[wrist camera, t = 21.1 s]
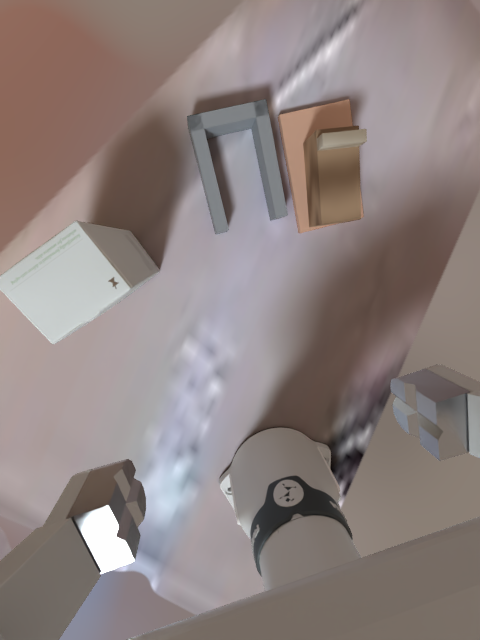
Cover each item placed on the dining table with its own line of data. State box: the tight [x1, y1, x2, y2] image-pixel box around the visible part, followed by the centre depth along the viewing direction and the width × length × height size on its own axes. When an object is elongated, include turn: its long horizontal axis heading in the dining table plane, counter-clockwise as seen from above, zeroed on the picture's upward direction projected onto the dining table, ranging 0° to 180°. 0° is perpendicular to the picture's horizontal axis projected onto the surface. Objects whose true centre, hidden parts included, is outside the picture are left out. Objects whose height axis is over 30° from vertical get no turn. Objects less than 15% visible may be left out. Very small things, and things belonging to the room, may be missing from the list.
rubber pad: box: [278, 99, 364, 233], centre depth 36 cm, size 14×9×1 cm, turn 14°
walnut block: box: [303, 126, 367, 227], centre depth 34 cm, size 10×5×6 cm, turn 8°
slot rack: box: [187, 99, 288, 234], centre depth 34 cm, size 12×9×3 cm
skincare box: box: [0, 221, 160, 344], centre depth 29 cm, size 8×7×16 cm
